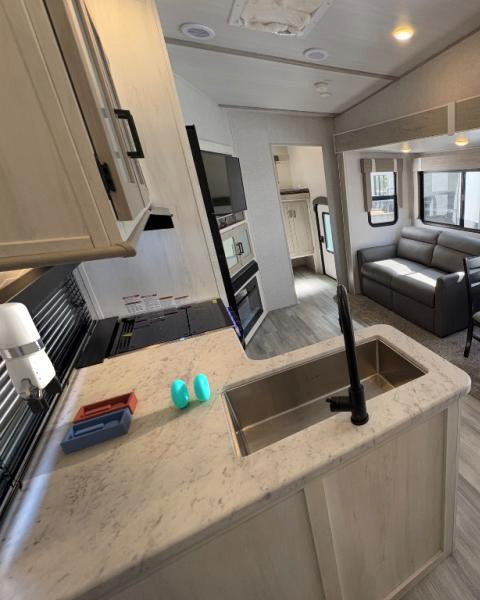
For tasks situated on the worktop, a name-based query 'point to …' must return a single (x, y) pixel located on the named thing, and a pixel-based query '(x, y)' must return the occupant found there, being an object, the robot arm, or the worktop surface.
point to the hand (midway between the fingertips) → (49, 402)
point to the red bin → (127, 399)
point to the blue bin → (77, 443)
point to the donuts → (181, 391)
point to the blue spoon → (95, 428)
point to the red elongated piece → (102, 409)
